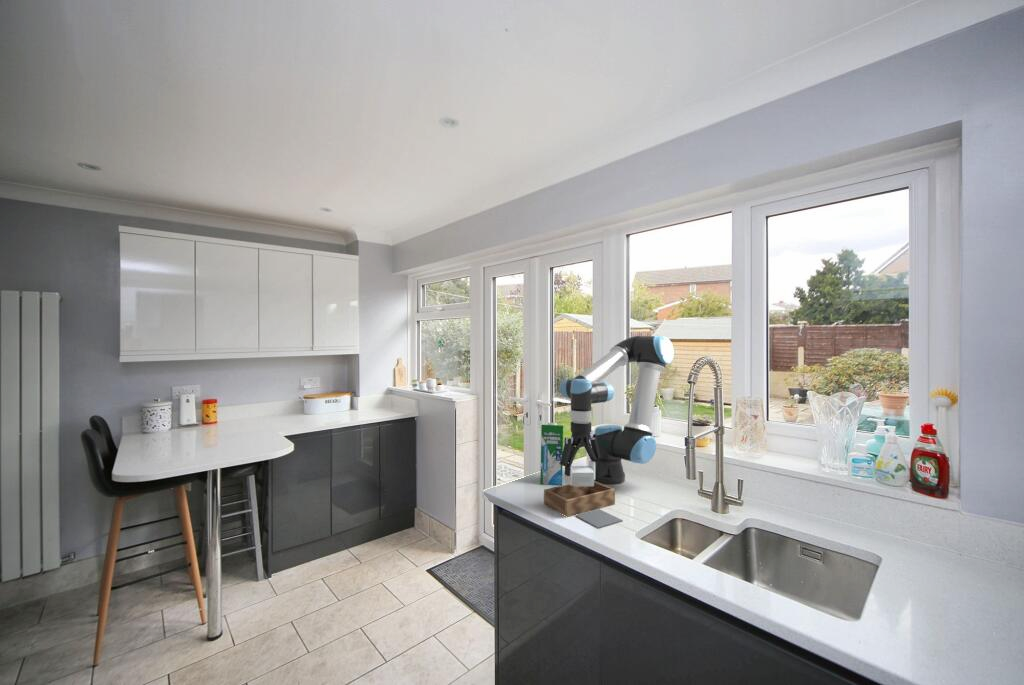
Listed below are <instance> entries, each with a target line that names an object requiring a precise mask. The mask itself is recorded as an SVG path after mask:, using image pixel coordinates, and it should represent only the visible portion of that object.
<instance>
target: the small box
mask: <svg viewBox="0 0 1024 685" xmlns="http://www.w3.org/2000/svg"><path fill="white" fill-rule="evenodd" d="M571 467H573V486H574V487H581V486H594V472H593V470H592V469H591V468H590V466H589V465H588V466H587V465H586V466H585V465H578V466H577V465H571Z"/></svg>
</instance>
